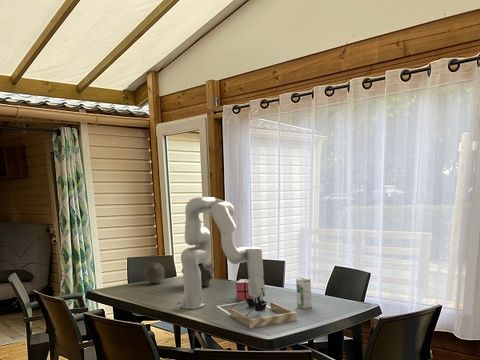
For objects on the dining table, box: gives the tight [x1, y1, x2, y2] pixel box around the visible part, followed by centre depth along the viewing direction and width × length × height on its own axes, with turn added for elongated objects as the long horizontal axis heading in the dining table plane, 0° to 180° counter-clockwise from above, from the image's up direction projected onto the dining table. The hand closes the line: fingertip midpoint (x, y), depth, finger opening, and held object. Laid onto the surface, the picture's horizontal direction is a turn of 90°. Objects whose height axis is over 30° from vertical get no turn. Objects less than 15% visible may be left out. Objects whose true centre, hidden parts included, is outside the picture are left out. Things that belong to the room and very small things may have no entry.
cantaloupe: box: [143, 261, 166, 285], centre depth 294 cm, size 14×14×15 cm
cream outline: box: [215, 300, 272, 316], centre depth 218 cm, size 23×20×1 cm
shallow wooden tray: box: [229, 301, 298, 329], centre depth 197 cm, size 23×24×4 cm
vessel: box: [181, 245, 215, 288], centre depth 277 cm, size 24×22×30 cm
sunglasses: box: [228, 298, 268, 317], centre depth 209 cm, size 14×16×5 cm
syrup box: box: [295, 277, 312, 310], centre depth 213 cm, size 6×6×14 cm
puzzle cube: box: [235, 278, 254, 301], centre depth 238 cm, size 10×10×10 cm
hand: (258, 310), depth 202 cm, fingers closed
